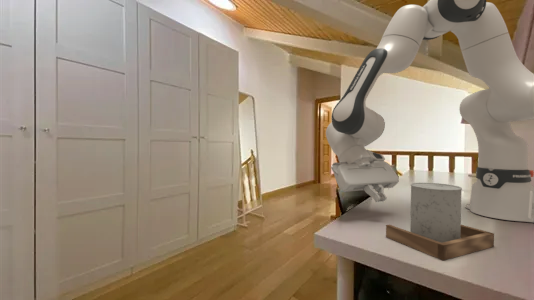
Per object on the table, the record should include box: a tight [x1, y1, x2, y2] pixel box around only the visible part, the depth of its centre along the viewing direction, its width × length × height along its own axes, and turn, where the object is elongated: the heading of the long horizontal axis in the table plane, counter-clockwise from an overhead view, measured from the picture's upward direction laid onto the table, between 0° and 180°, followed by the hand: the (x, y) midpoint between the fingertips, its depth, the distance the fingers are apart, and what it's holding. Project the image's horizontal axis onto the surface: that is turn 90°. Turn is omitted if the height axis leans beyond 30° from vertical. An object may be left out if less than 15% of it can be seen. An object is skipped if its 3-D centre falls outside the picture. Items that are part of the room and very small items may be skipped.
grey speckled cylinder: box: [409, 182, 463, 243], centre depth 58 cm, size 10×10×12 cm
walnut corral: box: [385, 224, 495, 261], centre depth 57 cm, size 16×13×3 cm
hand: (381, 200), depth 71 cm, fingers closed
